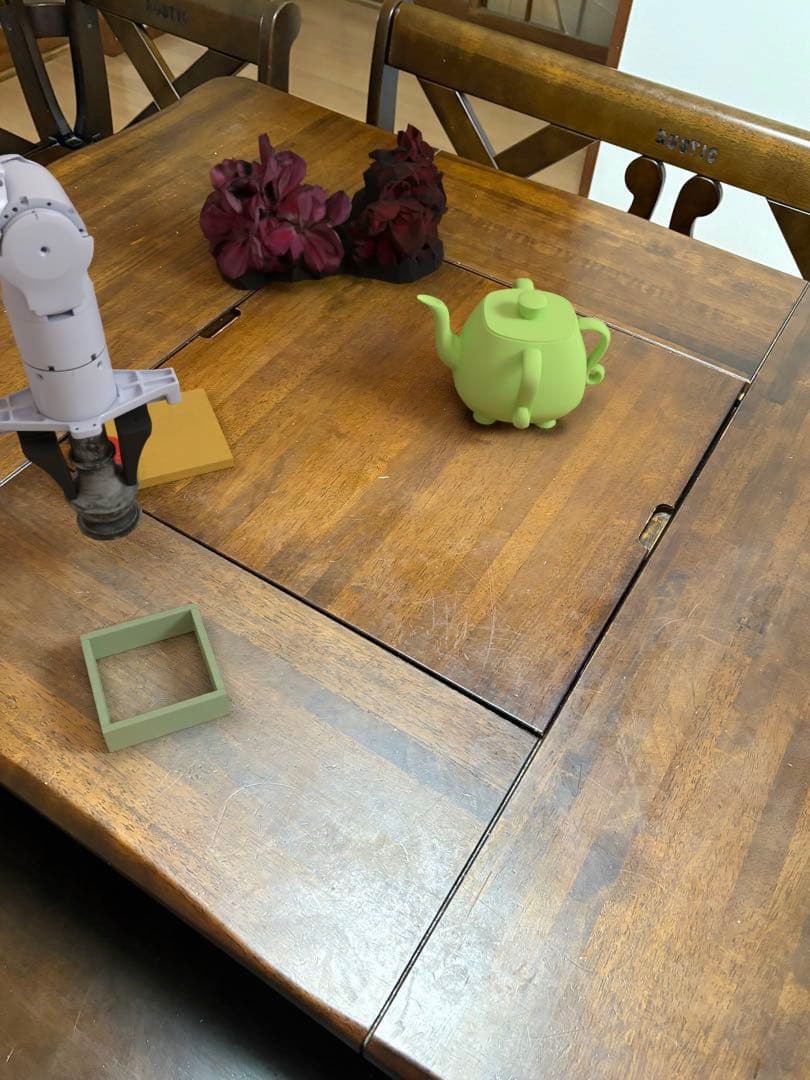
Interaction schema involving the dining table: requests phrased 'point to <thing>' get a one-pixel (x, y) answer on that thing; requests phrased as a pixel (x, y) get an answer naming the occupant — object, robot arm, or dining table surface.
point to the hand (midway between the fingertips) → (100, 484)
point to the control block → (181, 441)
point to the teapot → (519, 355)
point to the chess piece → (102, 489)
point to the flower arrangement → (326, 218)
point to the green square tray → (166, 717)
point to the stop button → (117, 456)
